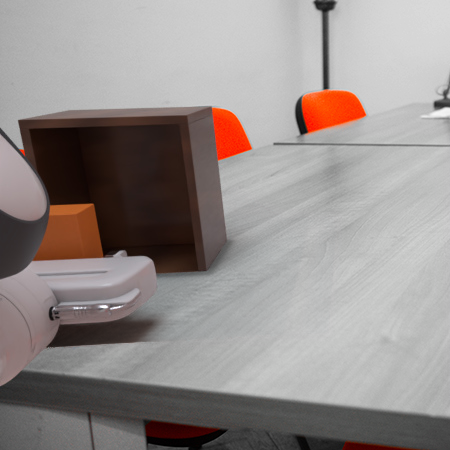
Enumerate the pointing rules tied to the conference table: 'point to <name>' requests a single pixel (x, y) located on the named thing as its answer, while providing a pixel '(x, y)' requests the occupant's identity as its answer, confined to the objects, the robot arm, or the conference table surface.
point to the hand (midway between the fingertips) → (72, 259)
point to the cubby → (137, 178)
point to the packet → (70, 234)
